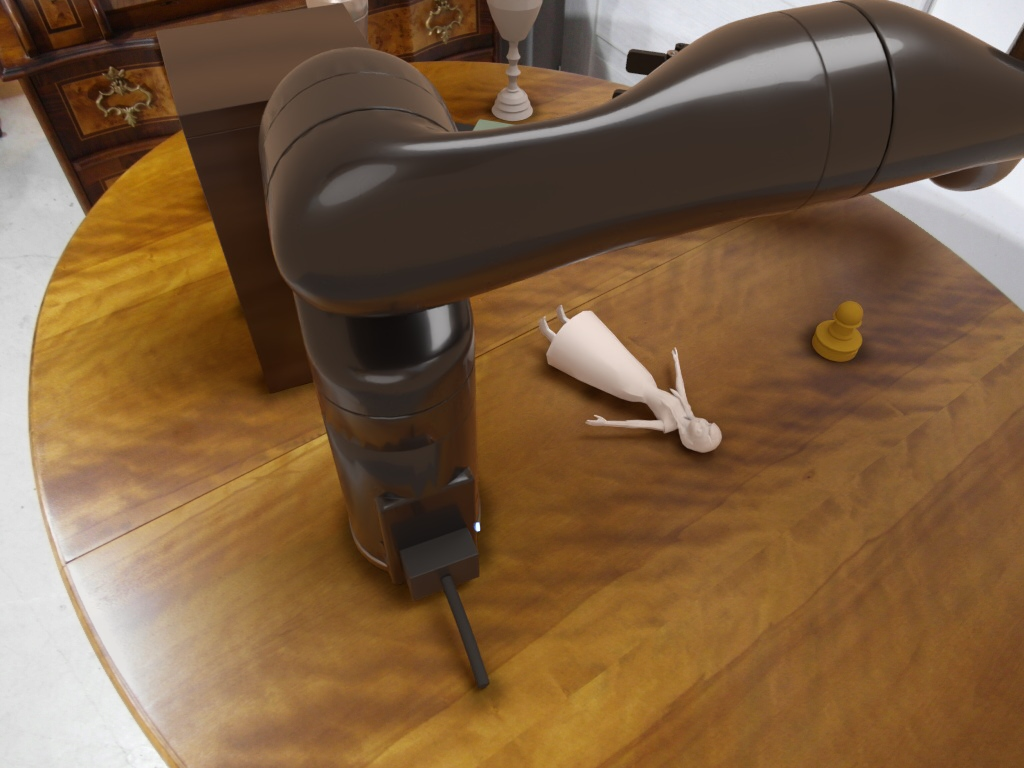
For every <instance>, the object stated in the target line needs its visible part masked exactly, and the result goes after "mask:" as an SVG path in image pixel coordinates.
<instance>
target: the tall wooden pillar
mask: <svg viewBox="0 0 1024 768" xmlns="http://www.w3.org/2000/svg"><path fill="white" fill-rule="evenodd" d="M155 33H156V37H157V40H158V41H157V42H158V44H159V48H160V52H161V56H162V60H163V63H164V64H163V65H164V67H165V71H166V75H167V80H168V83H169V87H170V91H171V94H172V99H173V102H174V107H175V111H176V114H177V118H178V121H179V124H180V127H181V129H182V133H183V136H184V139H185V143H186V145H187V148H188V151H189V154H190V157H191V160H192V163H193V167H194V169H195V172H196V175H197V178H198V182H199V185H200V187H201V190H202V193H203V196H204V199H205V202H206V205H207V209H208V211H209V214H210V217H211V220H212V223H213V227H214V230H215V232H216V236H217V238H218V241H219V245H220V247H221V250H222V254H223V257H224V260H225V262H226V265H227V268H228V271H229V275H230V278H231V280H232V284H233V286H234V289H235V293H236V296H237V299H238V301H239V305H240V308H241V311H242V314H243V317H244V320H245V323H246V326H247V329H248V332H249V335H250V338H251V341H252V344H253V348H254V350H255V353H256V356H257V359H258V362H259V365H260V368H261V372H262V374H263V377H264V380H265V383H266V386H267V389H268V393H269V394H273V393H277V392H280V391H281V392H282V391H284V390H287V389H291V388H294V387H299V386H302V385H306V384H309V383H312V382H313V378H312V374H311V371H310V367H309V363H308V359H307V356H306V352H305V349H304V344H303V340H302V335H301V330H300V325H299V320H298V315H297V310H296V305H295V301H294V296H293V291H292V289H291V288H290V287H289V286H288V285H287V284H286V282H285V281H284V279H283V277H282V276H281V274H280V272H279V269H278V267H277V264H276V261H275V258H274V255H273V251H272V246H271V241H270V234H269V227H268V221H267V213H266V205H265V197H264V189H263V181H262V171H261V165H260V158H259V130H260V124H261V120H262V116H263V113H264V110H265V107H266V105H267V103H268V101H269V99H270V97H271V95H272V94H273V92H274V90H275V89H276V87H277V86H278V85H279V83H280V82H281V81H282V80H283V79H284V78H285V77H286V76H287V75H288V74H289V73H290V72H291V71H292V70H293V69H294V68H295V67H297V66H298V65H300V64H301V63H302V62H304V61H306V60H307V59H309V58H311V57H313V56H315V55H318V54H320V53H323V52H326V51H329V50H333V49H340V48H350V47H359V48H369V49H373V47H372V46H371V44H370V43H369V41H368V42H367V40H366V39H365V37H364V35H363V34H362V32H361V31H360V29H359V28H358V26H357V25H356V23H355V21H354V20H353V18H352V17H351V15H350V14H349V12H348V11H347V9H346V7H345V6H344V4H343V3H339V4H332V5H326V6H319V7H312V8H307V7H305V8H299V9H294V10H287V11H280V12H273V13H267V14H260V15H253V16H246V17H238V18H233V19H225V20H219V21H212V22H207V23H200V24H192V25H187V26H179V27H173V28H166V29H165V28H164V29H159V30H156V31H155ZM313 383H314V382H313Z"/></svg>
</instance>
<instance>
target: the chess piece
mask: <svg viewBox="0 0 1024 768" xmlns="http://www.w3.org/2000/svg"><path fill="white" fill-rule="evenodd" d="M863 317H864V309H863V307H862V306H861V305H860V304H859V303H858V302H856V301H853V300H846V301H843V302H842V303H840V304H838V306H837V308H836V310H835V311H833V313H832V319H827V320H824V321H822V322H820V323H819V324H818V325H817V326H816V328H815V331H814V334H813V336H812V339H811V345H812V348H813V349H814V351H815V352H816V353H817V354H819V356H821V357H823V358H824V359H826V360H829V361H832V362H837V363H839V362H840V363H841V362H843V363H844V362H848V361H851V360H852V359H854V358H855V357H856V356H857V353H858V351H859V349H860V348H861V346H862V344H863V336H862V334H861V332H860V331H859V330H858V329H857V328H859V327H860V326H861V325H862V324H863Z"/></svg>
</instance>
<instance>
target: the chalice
mask: <svg viewBox="0 0 1024 768" xmlns="http://www.w3.org/2000/svg"><path fill="white" fill-rule="evenodd" d="M543 1H544V0H486V3H487V6H488V10H489V12H490V15H491V18H492V21H493V22H494V24H495V27H496V29H497V32H498V33H499V35H500V37H501V38H502V39H503V40H505V41H507V42H508V45H509V48H508V53H507V55H506V59H507V60H508V67H507V69H506V70H505V74H506V75H507V77H508V84H507V86H506V87H504V88H502V89H501V90H500V91H499V92H498V94H497V97H496V98H495V100H494V105H493V106H492V107H491V113H492V114H493V116H495V117H496V118H498V119H500V120H503V121H507V122H508V121H509V122H517V121H523V120H526V119H528V118H530V117H531V116H532V115H533V113H534V110H533V109H534V108H533V107H532V105H531V101H530V99H529V98H528V97H529V96H528V94H527V93H526V92H525V90H524V89H523V88H520V86H518V77H519V76H520V75H521V70H520V69H519V67H518V63H519V60H520V59H521V55H520V53H519V48H518V46H519V42H522V41H524V40H526V38H527V37H528V35H529V33H530V31H531V29H532V28H533V26H534V24H535V22H536V20H537V18H538V16H539V12H540V10H541V8H542V5H543Z"/></svg>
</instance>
